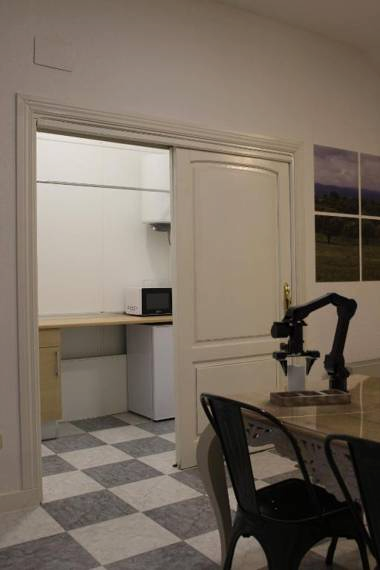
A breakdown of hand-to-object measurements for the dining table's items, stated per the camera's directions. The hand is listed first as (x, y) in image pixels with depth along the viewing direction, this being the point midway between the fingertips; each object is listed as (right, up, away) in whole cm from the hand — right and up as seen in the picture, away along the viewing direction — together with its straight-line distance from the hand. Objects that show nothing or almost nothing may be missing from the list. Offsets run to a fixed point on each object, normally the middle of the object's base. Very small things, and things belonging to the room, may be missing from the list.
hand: (296, 375), depth 236 cm
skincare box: (0, -8, 0) cm, 8 cm away
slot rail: (+3, -8, -13) cm, 15 cm away
